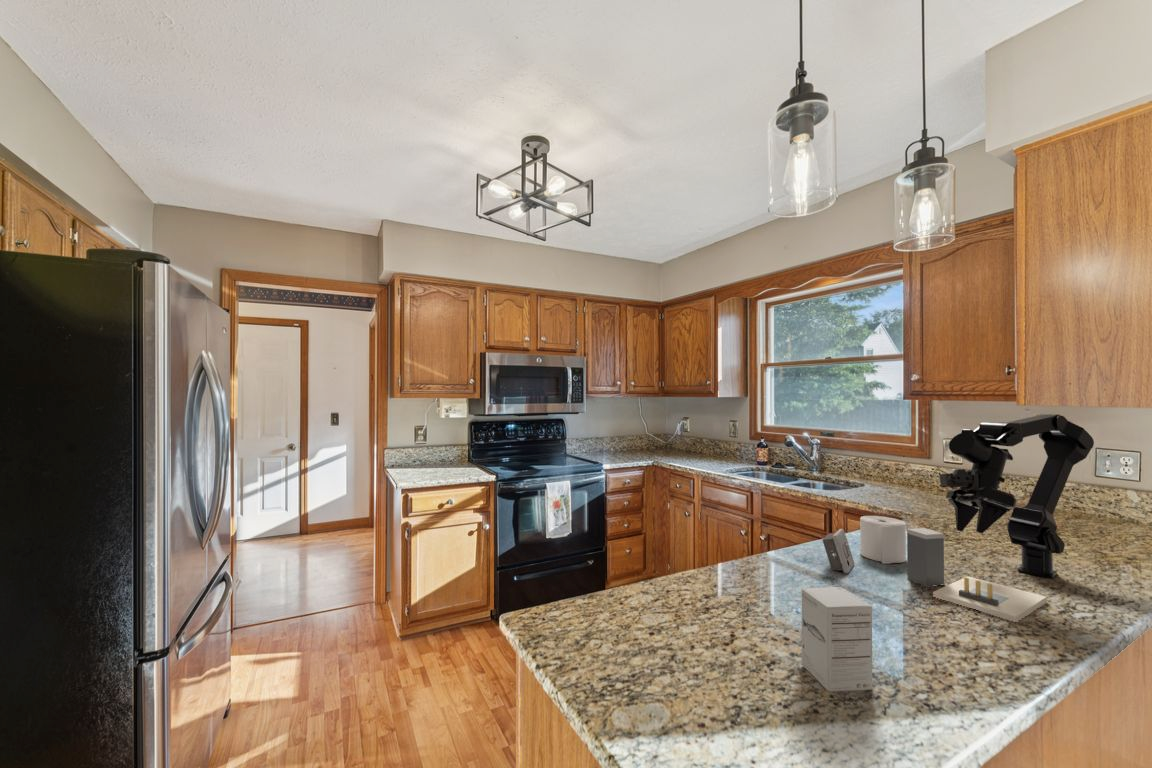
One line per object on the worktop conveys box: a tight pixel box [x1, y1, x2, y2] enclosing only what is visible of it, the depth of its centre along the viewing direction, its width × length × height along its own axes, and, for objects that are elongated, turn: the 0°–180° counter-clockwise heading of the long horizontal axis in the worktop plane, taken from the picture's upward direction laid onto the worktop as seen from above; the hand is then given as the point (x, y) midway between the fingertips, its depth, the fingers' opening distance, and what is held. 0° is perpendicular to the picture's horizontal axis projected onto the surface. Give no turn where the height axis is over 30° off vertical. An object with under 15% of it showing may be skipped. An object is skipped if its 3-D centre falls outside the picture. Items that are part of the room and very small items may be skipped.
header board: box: [932, 575, 1048, 623], centre depth 106 cm, size 18×14×5 cm
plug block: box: [906, 527, 945, 587], centre depth 116 cm, size 5×5×12 cm
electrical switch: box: [822, 528, 855, 575], centre depth 126 cm, size 9×5×9 cm, turn 141°
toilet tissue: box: [859, 515, 907, 564], centre depth 134 cm, size 11×12×10 cm
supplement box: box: [801, 586, 873, 693], centre depth 76 cm, size 7×7×13 cm
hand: (968, 531), depth 117 cm, fingers open, 9 cm apart
